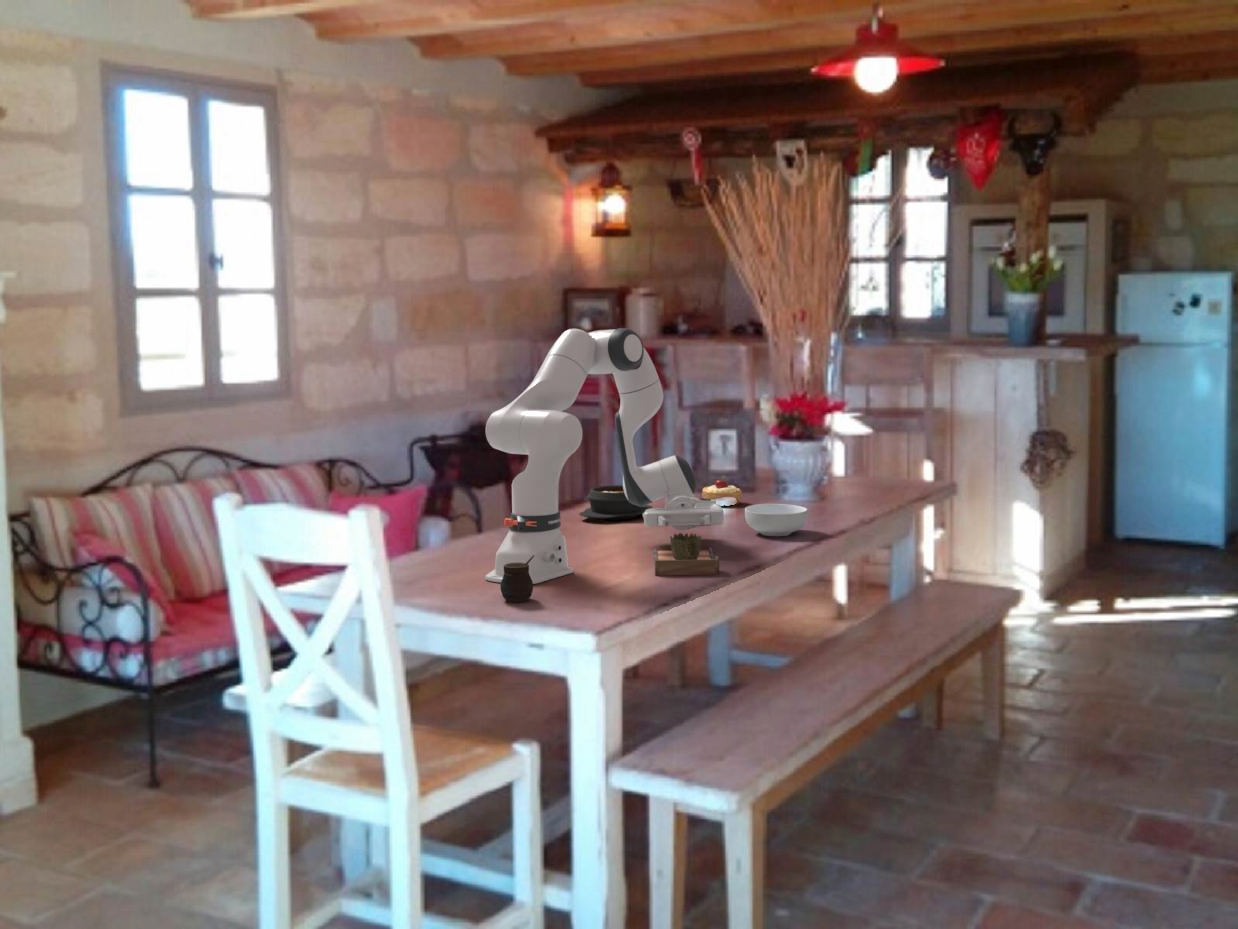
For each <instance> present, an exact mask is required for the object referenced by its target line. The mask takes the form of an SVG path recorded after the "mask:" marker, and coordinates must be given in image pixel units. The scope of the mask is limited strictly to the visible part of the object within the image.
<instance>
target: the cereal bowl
mask: <svg viewBox="0 0 1238 929" xmlns="http://www.w3.org/2000/svg"><path fill="white" fill-rule="evenodd" d="M744 517H745V520H746V523H747V525H748V526H749V527H750V528H752V529H753V530H754V531H757V532H759V533H760V535H762V536H765V537H766V536H767V537H787V536H790V535H791V534H792V533H793V532H794V533H795V532H797V531H799V530H801V529H802V528H803V527H804V525H805V524H806V523H807V519H808V509H807V508H806V507H804V506H800V505H795V504H788V503H787V504H785V503H758V504H753V505H748V506H746V507H745V508H744Z"/></svg>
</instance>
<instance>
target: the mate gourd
mask: <svg viewBox="0 0 1238 929" xmlns="http://www.w3.org/2000/svg"><path fill="white" fill-rule="evenodd" d="M533 557H534V555H533V556H532V557H531V558H530V559H529V560H528V562H526V563H520V562H515V563H508V564H505V565H504V576H503V579H502V581H501V582H500V585H499V586H500V592H501V594H502V595H501V596H502V597H503V599H504V600H505V601H507V602H508V603H524V602H526V601H528V600H529V599H530V598H531V597H532V595H533V594H532V593H533V591H534V584H533V582H532V579H531V577H530V575H529V565H528V563H529V562H530V561H531V560H532V558H533Z"/></svg>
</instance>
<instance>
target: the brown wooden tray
mask: <svg viewBox="0 0 1238 929" xmlns="http://www.w3.org/2000/svg"><path fill="white" fill-rule="evenodd" d="M652 551H653V561H654V562H653V564H654V576H703V575H704V576H706V575H708V576H709V575H712V576H713V575H714V576H715V575H716V576H717V575H720V559H719V556H718V555H715V554H714V551H713V548H712V547H708V549H702V550H701V549H700V552H699V556H698V558H697V560H675V559H674V557H673V554H672V550H657V548H653V550H652Z"/></svg>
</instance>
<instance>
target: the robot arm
mask: <svg viewBox="0 0 1238 929" xmlns="http://www.w3.org/2000/svg"><path fill="white" fill-rule="evenodd" d="M608 374H612V375H613V377H614V381H615V385H616V388H617V392H618V394H619V399H620V402H619V403H620V404H619V410H618V411H617V412H616V413H615V415H614V427H615V432H616V434H615V435H616V441H617V446H618V453H619V460H620V464H621V470H622V485H623V490H624V493H625V496H626V498H627V500H628V501H629V502H630V503H632V504H634V505H636V506H640V507H643V506H645V505H650V504H651V503H653V502H655V501H658V500H661V499H664V498H665V500H664V507H653V508H650V509H647V510H645V512H644V513H643V514H641V515H642V518H643V525H644V526H645V527H672V528H673V529H675V530H678V531H686V530H690V529H695V528H699V527H705V526H721V525H724V522H725V520H724V519H725V517H724V516H725V515H724V509H723V508H722V506H720V505H718V504H716V501H715V500H712V499H703V497H702V498H700V497H696V495H695V493H696V490H697V483H696V478H695V476H694V473H693V470H692V467H691V466H690V464H689V462H688V461H687V459H685V458H683V457H682V456H680V455H677V454H675V455H671V456H669V457H665V458H663V459H660V460H658V461H654V462H652V463H648V464H646V465H643V466H638V465H637V462H636V461H637V460H636V455H635V450H634V449H635V448H634V444H633V440H634V436H635V434H636V432H637V431H638V430H639V429H640V428H641V427H642V426H643V425H644V424H646V423H647V422H648V421H650V419H652V418H653V417H654V416H655V415H656V414H657V413H658V411H659V410H660V409H661V406H662V404H663V402H664V392H663V387H662V383H661V380H660V378H659V375H658V372H657V370H656V366H655V365H654V363H653V360H652V358H651V357H650V355H649V353H648V352H647V350H646V349H645V347H644V344H643V341H642V339H641V337H640V336H639V334H638V333H637V332H635V331H634V330H633V329H630V328H624V327H620V328H619V327H618V328H616V329H599V330H594V331H590V332H587V331H585V330H583V329H579V328H569V329H567V330H565V331H563V332H562V333H561V335H560V336H559V337H558V338H557V339H556V340H555V341H554V344H553V345H552V346H551V348H550V350H549V351H548V353H547V355H546V356H545V359H544V360H543V362H542V364H541V366H540V367H539V370H538V371H537V373H536V375H535V377H534V378H533V380H532V381H531V382H530V384H529V385H528V386H527V387H526V389H525V390H524V391H523V392H522V393H520V394H519V395H518V396H517V397H515V399H514V400H513V401H511V402H509V403H508V404H507V405H505V406H504V407H502V408H500V409H497V410H495V411H493V412H492V413H491V414H490V416H489V417H488V419H487V421H486V424H485V437H486V440H487V442H488V444H489V445H490V446H491V448H493V449H495V450H499V451H501V452H504V453H506V454H513V455H527V456H528V460H527V465H526V466H525V469H524V470H523V471H522V472H520V473H518V474H517V475H516V476H515V477H514V478H513V479H512V483H511V509H512V510H511V511H512V512H511V513H510V517H509V518H508V517H506V518H504V521H503V525H504V527H506V528H507V527H508V532H507V535H506V536H505V538H504V539H503V541H502V543H501V545H500V546H499V548H498V550H496V553H495V560H494V563H495V564H494V565H495V566H494V569H492V571H490V572H489V573H487V574H486V575H485V578H484V580H486V581H489V582H495V583H501V581H502V579H503V576H504V565H505V564H508V563H515V562H520V563H526V562H528V560H529V559H530V558H531V557H532V556H533V555H534V557H533V558H532V560H531V561H530V562H529V563H528V565H529V575H530V577H531V579H532V582H533V585H534V584H539V583H544V582H546V581H549V580H552V579H557V578H559V577H562V576H566V575H569V574H573V572H574V569H573V567H571V566H569V559H568V550H567V542H566V541H567V540H566V536H565V535H564V534H563V533H562V531H561V529H560V527H561V525H562V524H561V521H562V517H561V512H560V511H559V486H560V484H559V483H560V477H561V474H562V470H563V468H564V466H565V463H566V462H567V461H568V459H569V458H570V457H571V456H572V455H573V454H574V453H576V451H577V450H578V449H579V447H580V446H581V443H582V441H583V428H582V424H581V422H580V420H579V418H578V417H576V416H575V415H573V414H571V413H568V412H565V410H567V409H569V408H570V407H571V406H572V405H573V404H574V403H575V401H576V399H577V397H578V396H579V395H578V394H579V393H580V391H581V389H582V387H583V385H584V383H585V381H586V379H587V377H588V376H590V375H608Z"/></svg>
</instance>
